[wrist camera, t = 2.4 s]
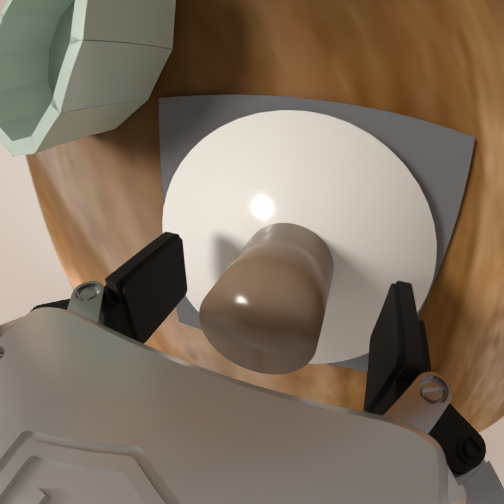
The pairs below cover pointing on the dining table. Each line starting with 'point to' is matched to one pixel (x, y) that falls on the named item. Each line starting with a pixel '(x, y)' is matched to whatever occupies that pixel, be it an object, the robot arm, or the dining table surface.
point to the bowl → (77, 66)
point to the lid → (296, 237)
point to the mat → (371, 120)
